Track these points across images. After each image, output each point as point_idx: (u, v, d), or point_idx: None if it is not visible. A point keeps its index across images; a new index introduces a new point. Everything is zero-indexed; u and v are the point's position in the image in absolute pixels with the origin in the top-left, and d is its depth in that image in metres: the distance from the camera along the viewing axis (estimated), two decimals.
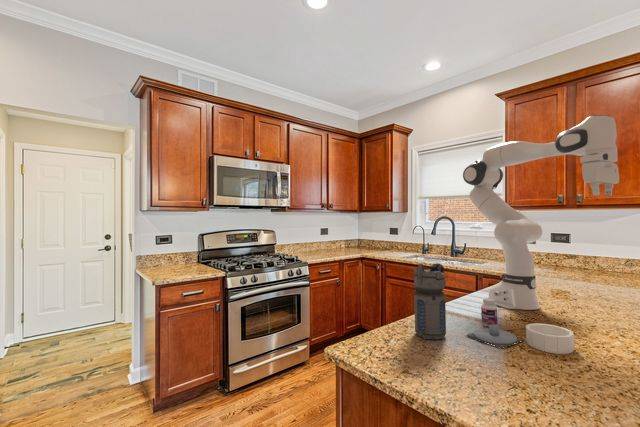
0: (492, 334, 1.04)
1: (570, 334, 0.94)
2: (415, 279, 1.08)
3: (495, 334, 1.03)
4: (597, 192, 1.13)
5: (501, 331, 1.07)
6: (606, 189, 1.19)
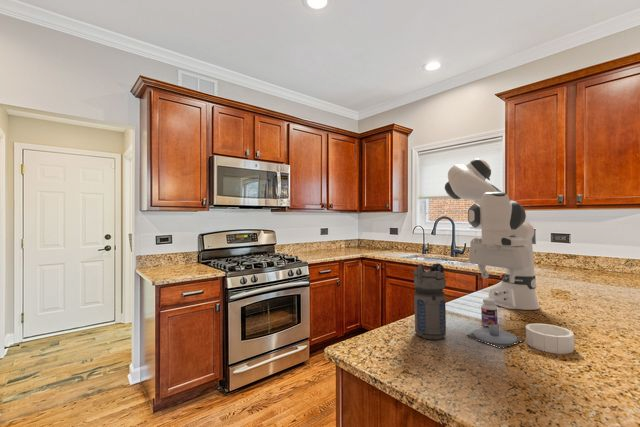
0: (492, 334, 1.04)
1: (570, 334, 0.94)
2: (415, 279, 1.08)
3: (495, 334, 1.03)
4: (513, 279, 1.01)
5: (501, 331, 1.07)
6: (482, 270, 1.11)
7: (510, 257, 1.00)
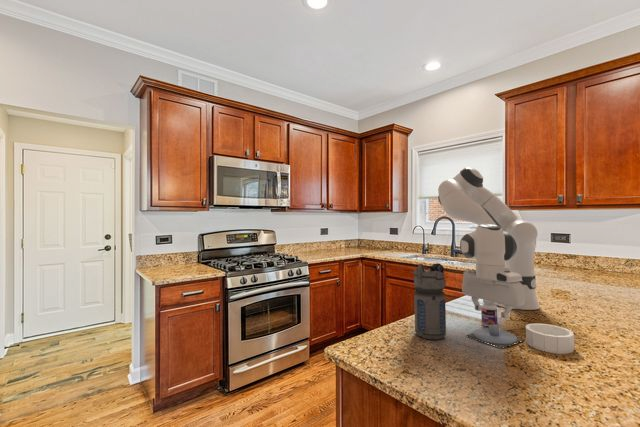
0: (492, 334, 1.04)
1: (570, 334, 0.94)
2: (415, 279, 1.08)
3: (495, 334, 1.03)
4: (508, 315, 1.01)
5: (501, 331, 1.07)
6: (476, 303, 1.09)
7: (505, 293, 0.99)
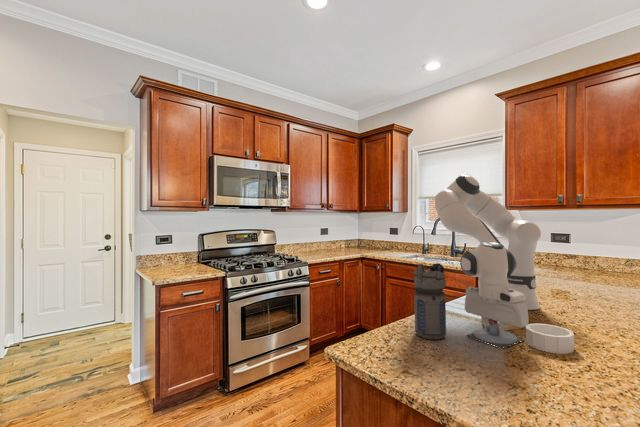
0: (492, 334, 1.04)
1: (570, 334, 0.94)
2: (415, 279, 1.08)
3: (495, 334, 1.03)
4: (503, 332, 1.02)
5: None
6: (486, 323, 1.07)
7: (509, 313, 0.98)
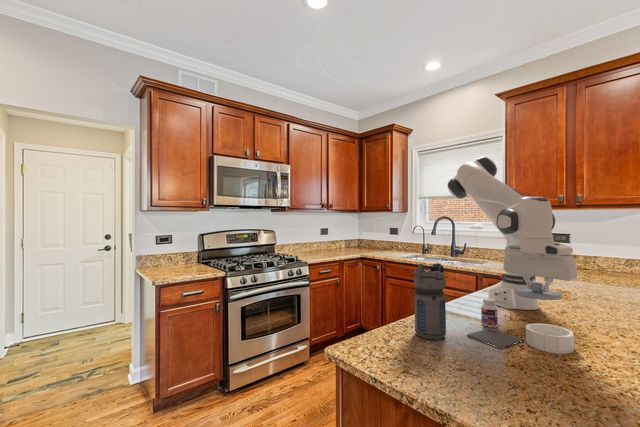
0: (535, 291, 0.99)
1: (570, 334, 0.94)
2: (415, 279, 1.08)
3: (539, 291, 0.98)
4: (548, 288, 0.97)
5: None
6: (528, 281, 1.02)
7: (556, 267, 0.93)
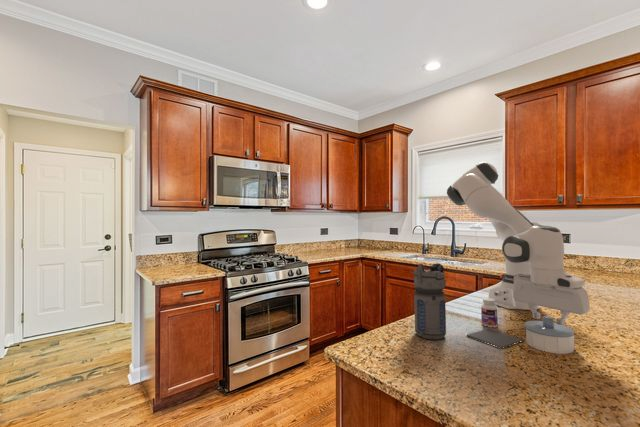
0: (546, 326, 0.98)
1: None
2: (415, 279, 1.08)
3: (550, 326, 0.97)
4: (564, 321, 0.95)
5: (554, 324, 1.01)
6: (533, 310, 1.02)
7: (568, 300, 0.92)
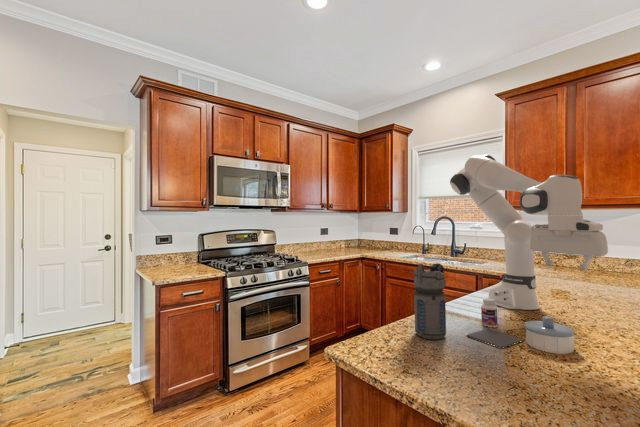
0: (546, 326, 0.98)
1: None
2: (415, 279, 1.08)
3: (550, 326, 0.97)
4: (587, 267, 0.96)
5: (554, 324, 1.01)
6: (546, 258, 1.05)
7: (586, 243, 0.94)
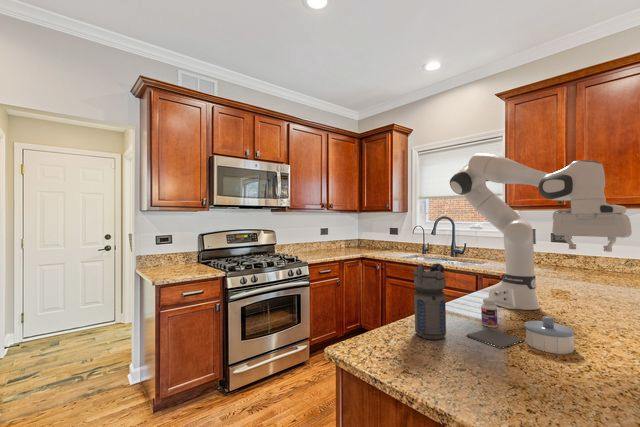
0: (546, 326, 0.98)
1: None
2: (415, 279, 1.08)
3: (550, 326, 0.97)
4: (611, 248, 0.99)
5: (554, 324, 1.01)
6: (570, 242, 1.08)
7: (610, 225, 0.97)
